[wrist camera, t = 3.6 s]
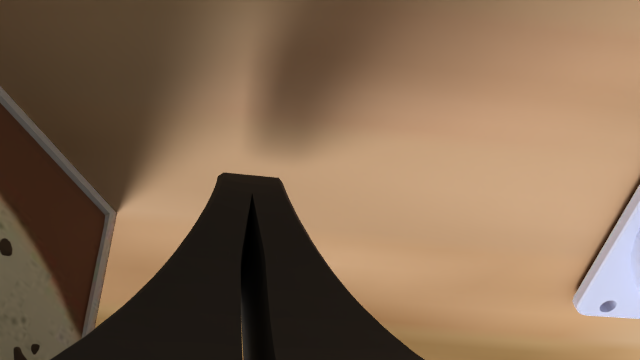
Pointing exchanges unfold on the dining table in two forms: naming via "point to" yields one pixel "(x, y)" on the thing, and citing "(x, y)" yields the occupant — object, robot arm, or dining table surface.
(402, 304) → the dining table surface
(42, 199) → the food container
